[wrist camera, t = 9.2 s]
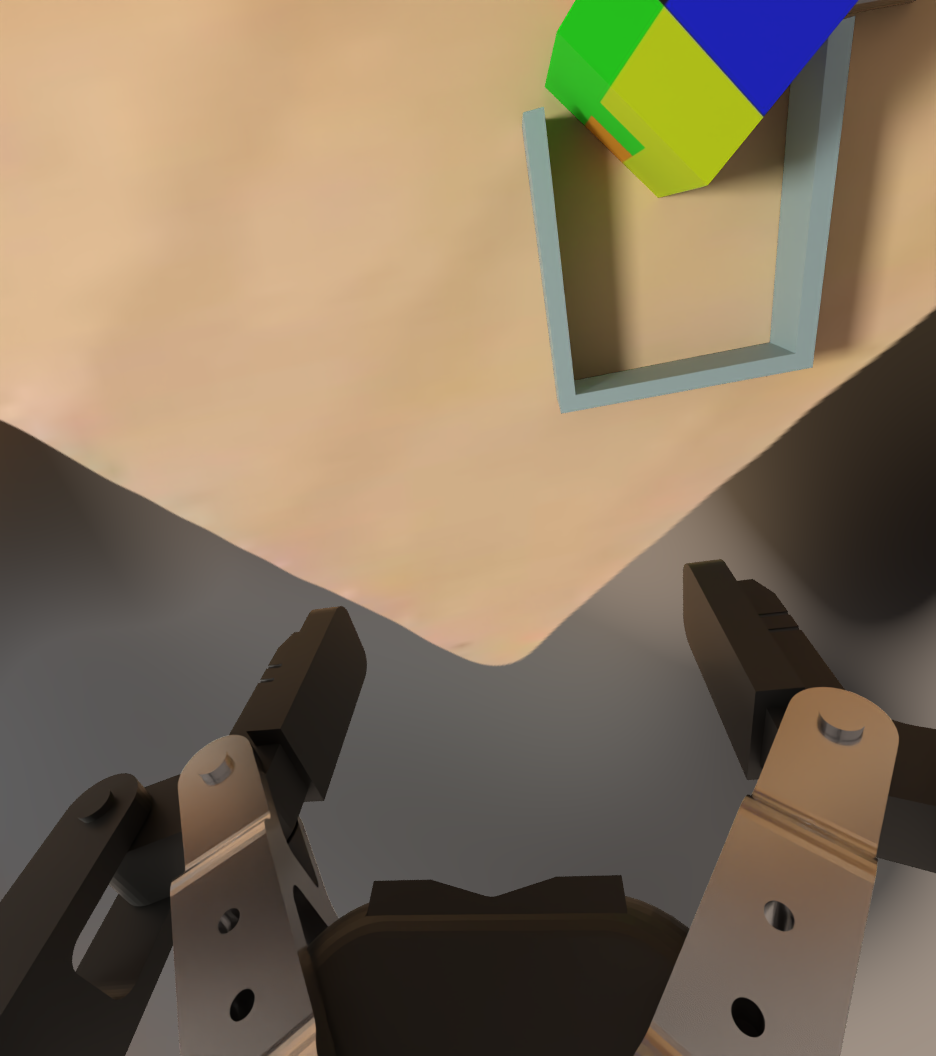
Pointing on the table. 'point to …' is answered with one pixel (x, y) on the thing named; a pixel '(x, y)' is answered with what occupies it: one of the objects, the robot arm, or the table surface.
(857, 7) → the crook tool
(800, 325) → the grey-blue flat square frame
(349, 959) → the robot arm
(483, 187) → the table surface
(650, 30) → the puzzle toy
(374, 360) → the table surface
